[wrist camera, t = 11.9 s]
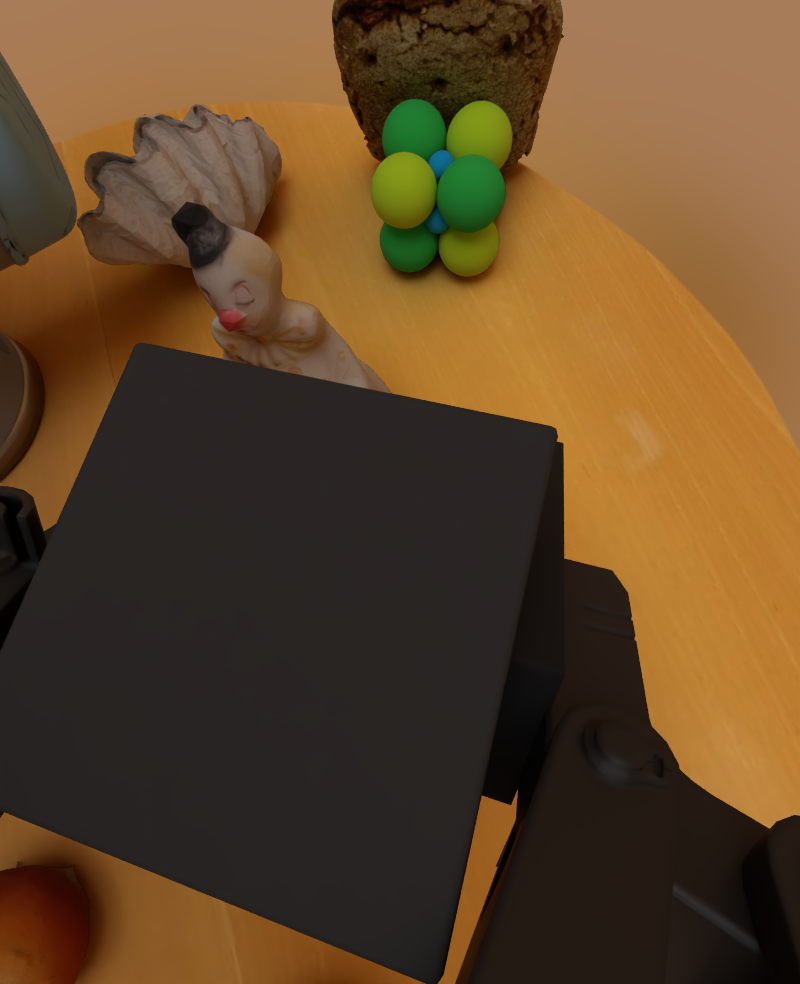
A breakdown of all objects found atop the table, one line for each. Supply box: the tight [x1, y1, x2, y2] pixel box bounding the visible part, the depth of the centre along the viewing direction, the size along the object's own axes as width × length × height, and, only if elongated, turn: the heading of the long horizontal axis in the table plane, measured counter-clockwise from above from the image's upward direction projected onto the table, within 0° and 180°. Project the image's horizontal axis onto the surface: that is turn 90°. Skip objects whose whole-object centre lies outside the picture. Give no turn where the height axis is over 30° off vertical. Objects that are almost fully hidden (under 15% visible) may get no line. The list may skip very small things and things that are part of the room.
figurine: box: [171, 202, 392, 394], centre depth 27 cm, size 12×10×20 cm
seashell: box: [77, 104, 282, 268], centre depth 38 cm, size 10×15×10 cm
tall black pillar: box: [0, 342, 558, 984], centre depth 10 cm, size 5×5×10 cm
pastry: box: [332, 0, 564, 172], centre depth 35 cm, size 17×17×3 cm
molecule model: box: [371, 99, 512, 277], centre depth 36 cm, size 9×9×9 cm
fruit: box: [0, 862, 89, 984], centre depth 28 cm, size 8×8×8 cm
